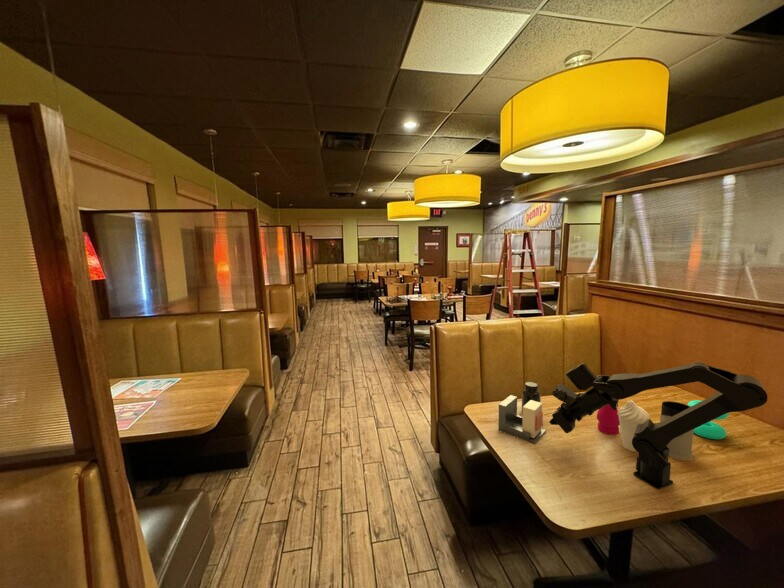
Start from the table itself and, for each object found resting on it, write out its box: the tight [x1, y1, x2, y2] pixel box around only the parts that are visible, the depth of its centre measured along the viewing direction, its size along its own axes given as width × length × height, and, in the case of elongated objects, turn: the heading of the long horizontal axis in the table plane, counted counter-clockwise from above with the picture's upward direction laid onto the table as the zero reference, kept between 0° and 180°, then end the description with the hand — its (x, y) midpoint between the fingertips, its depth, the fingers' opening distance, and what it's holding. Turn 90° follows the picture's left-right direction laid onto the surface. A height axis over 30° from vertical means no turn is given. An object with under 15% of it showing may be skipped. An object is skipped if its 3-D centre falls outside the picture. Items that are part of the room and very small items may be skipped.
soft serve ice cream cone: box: [617, 400, 651, 453], centre depth 101 cm, size 8×8×16 cm
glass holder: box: [659, 400, 694, 461], centre depth 99 cm, size 9×14×15 cm, turn 111°
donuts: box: [687, 399, 730, 440], centre depth 108 cm, size 10×10×10 cm
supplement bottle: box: [521, 381, 542, 413], centre depth 125 cm, size 7×7×12 cm
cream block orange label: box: [522, 400, 544, 438], centre depth 110 cm, size 5×7×10 cm, turn 136°
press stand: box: [497, 394, 547, 445], centre depth 113 cm, size 13×10×10 cm
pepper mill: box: [596, 404, 620, 436], centre depth 111 cm, size 7×7×20 cm
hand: (550, 422), depth 106 cm, fingers closed
